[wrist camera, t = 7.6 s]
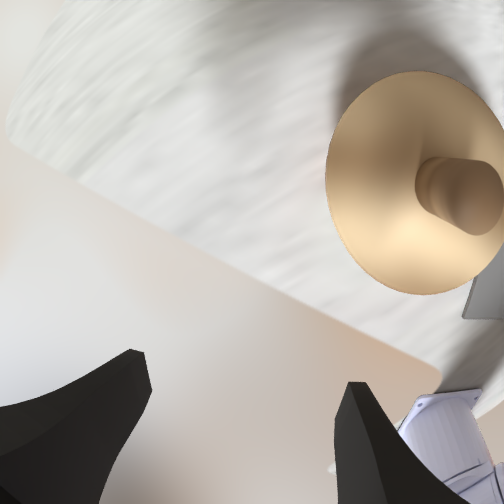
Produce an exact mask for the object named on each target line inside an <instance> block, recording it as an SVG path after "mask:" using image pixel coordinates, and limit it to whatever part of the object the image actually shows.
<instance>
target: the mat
mask: <svg viewBox="0 0 504 504" xmlns="http://www.w3.org/2000/svg"><path fill="white" fill-rule="evenodd" d="M462 318H463V319H504V242H503V244H502V246H501V248H500V249H499V251H498V252H497V254H496V255H495V257H494V258H493V259H492V261H491V262H490V263H489V264H488V265H487V266H486V268H484V269H483V270H482V271H481V272H480V273H479V274H478V275H477V276H475V278H474V281H473V285H472V288H471V291H470V294H469V297H468V300H467V303H466V306H465V309H464V312H463V314H462Z"/></svg>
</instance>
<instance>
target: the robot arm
mask: <svg viewBox="0 0 504 504" xmlns="http://www.w3.org/2000/svg"><path fill="white" fill-rule="evenodd" d="M151 393H152V388H151V383H150V379H149V374H148V370H147V365H146V360H145V355H144V352H140V351H137V350H132V349H129V350H127V351H125V352H123V353H122V354H120V355H118V356H117V357H115V358H113V359H112V360H110V361H108V362H107V363H105V364H103V365H102V366H100V367H98V368H97V369H95V370H93V371H92V372H90V373H88V374H86V375H85V376H83V377H81V378H79V379H77V380H75V381H73V382H72V383H69V384H68V385H66V386H64V387H62V388H59V389H57V390H55V391H53V392H50V393H48V394H45V395H43V396H40V397H37V398H34V399H31V400H27V401H24V402H20V403H17V404H13V405H8V406H3V407H0V504H99V500H100V497H101V494H102V492H103V489H104V486H105V483H106V481H107V478H108V476H109V473H110V471H111V469H112V466H113V464H114V462H115V460H116V458H117V456H118V454H119V452H120V451H121V449H122V447H123V446H124V444H125V442H126V441H127V439H128V437H129V436H130V434H131V432H132V431H133V429H134V427H135V426H136V424H137V422H138V421H139V419H140V417H141V416H142V414H143V412H144V410H145V407H146V405H147V403H148V400H149V398H150V395H151ZM481 394H482V390H481V389H474V390H467V391H459V392H450V393H440V394H428V395H421V396H419V397H418V398H417V399H416V401H415V403H414V405H413V407H412V408H411V410H410V412H409V414H408V415H407V417H406V419H405V420H404V422H403V424H402V425H401V427H400V428H399V430H398V432H397V430H396V429H395V427H394V426H393V424H392V423H391V422H390V420H389V419H388V417H387V416H386V414H385V412H384V411H383V409H382V408H381V406H380V405H379V403H378V401H377V400H376V398H375V397H374V395H373V393H372V392H371V390H370V388H369V386H368V385H367V383H366V382H348V385H347V387H346V390H345V393H344V396H343V399H342V401H341V404H340V407H339V409H338V412H337V415H336V417H335V429H334V448H335V461H336V474H337V487H338V504H504V463H503V462H500V463H499V464H498V465H495V464H494V463H493V461H492V458H491V456H490V453H489V450H488V448H487V445H486V443H485V441H484V438H483V436H482V434H481V431H480V429H479V427H478V424H477V422H476V420H475V418H474V415H473V413H472V411H471V409H472V408H473V406H474V405H475V403H476V402H477V400H478V399H479V397H480V396H481Z"/></svg>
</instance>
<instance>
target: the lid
mask: <svg viewBox="0 0 504 504" xmlns="http://www.w3.org/2000/svg"><path fill="white" fill-rule="evenodd" d="M325 180H326V194H327V200H328V206H329V210H330V213H331V217H332V220H333V223H334V225H335V227H336V230H337V232H338V234H339V236H340V239H341V240H342V242H343V244H344V245H345V247H346V249H347V251H348V252H349V254H350V255H351V256H352V258H353V259H354V260H355V261H356V263H357V264H358V265H359V266H360V267H361V268H362V269H363V270H364V271H365V272H366V273H367V274H369V275H370V276H371V277H372V278H374V279H375V280H376V281H378V282H380V283H382V284H383V285H385V286H387V287H389V288H392V289H394V290H397V291H399V292H404V293H408V294H415V295H431V294H438V293H443V292H447V291H449V290H452V289H455V288H457V287H459V286H461V285H463V284H465V283H467V282H468V281H470V280H471V279H473V278H474V277H475V276H477V275H478V274H479V273H480V272H481V271H482V270H483V269H484V268H486V266H487V265H488V264H489V263H490V262H491V261H492V259H493V258H494V257H495V255H496V254H497V252H498V251H499V249H500V248H501V246H502V244H503V242H504V130H503V128H502V126H501V124H500V122H499V120H498V119H497V117H496V116H495V114H494V113H493V112H492V110H491V109H490V108H489V107H488V106H487V104H486V103H485V102H484V101H483V100H482V99H481V98H480V97H479V96H478V95H477V94H475V93H474V92H473V91H472V90H470V89H469V88H468V87H466V86H465V85H463V84H462V83H460V82H458V81H456V80H454V79H452V78H450V77H447V76H444V75H441V74H438V73H432V72H427V71H408V72H402V73H397V74H394V75H391V76H388V77H385V78H383V79H381V80H380V81H378V82H376V83H374V84H373V85H371V86H370V87H369V88H367V89H366V90H365V91H363V92H362V93H361V94H360V95H359V96H358V97H357V98H356V99H355V100H354V101H353V102H352V103H351V104H350V106H349V107H348V108H347V110H346V111H345V113H344V114H343V115H342V117H341V119H340V121H339V123H338V125H337V127H336V129H335V131H334V134H333V136H332V139H331V142H330V145H329V150H328V155H327V160H326V173H325Z"/></svg>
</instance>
